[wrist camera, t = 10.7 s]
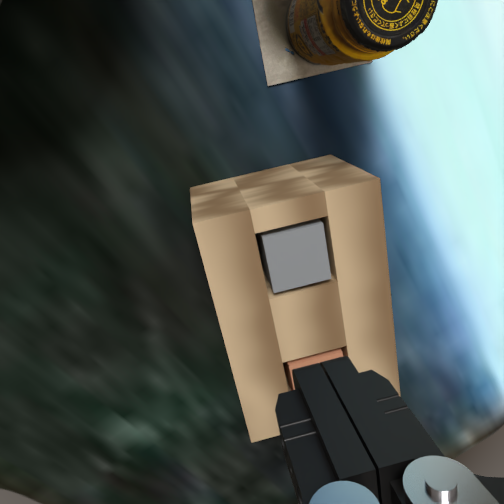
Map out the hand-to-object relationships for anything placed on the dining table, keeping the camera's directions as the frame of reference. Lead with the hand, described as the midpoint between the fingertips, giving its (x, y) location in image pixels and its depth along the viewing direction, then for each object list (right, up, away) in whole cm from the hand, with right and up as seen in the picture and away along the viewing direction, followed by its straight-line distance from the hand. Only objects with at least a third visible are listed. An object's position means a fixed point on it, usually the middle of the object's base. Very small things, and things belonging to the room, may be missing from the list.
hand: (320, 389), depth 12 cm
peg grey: (0, +6, +24) cm, 25 cm away
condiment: (+3, +21, +22) cm, 30 cm away
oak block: (+1, +2, +28) cm, 28 cm away
